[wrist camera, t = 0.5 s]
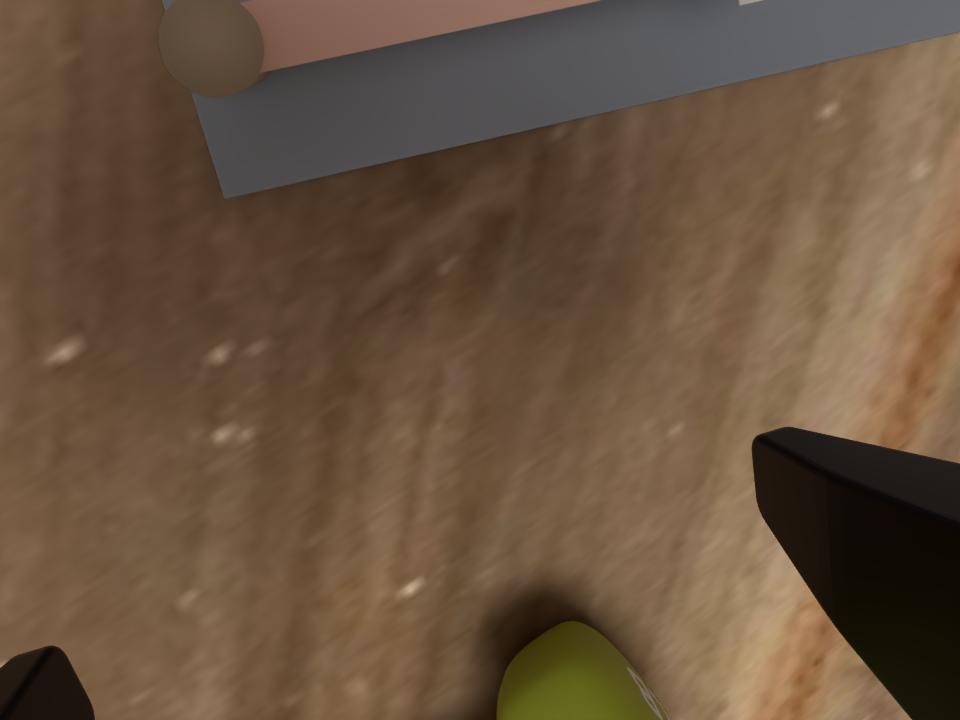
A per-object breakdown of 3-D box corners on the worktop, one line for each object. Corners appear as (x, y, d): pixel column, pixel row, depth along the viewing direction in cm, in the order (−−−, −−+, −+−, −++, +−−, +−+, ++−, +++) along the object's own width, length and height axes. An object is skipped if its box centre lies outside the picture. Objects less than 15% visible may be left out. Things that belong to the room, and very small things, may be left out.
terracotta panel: (641, -78, 18) (737, -118, 14) (649, 1, 18) (744, -15, 14) (184, 14, 17) (143, 1, 13) (209, 95, 17) (177, 107, 13)
